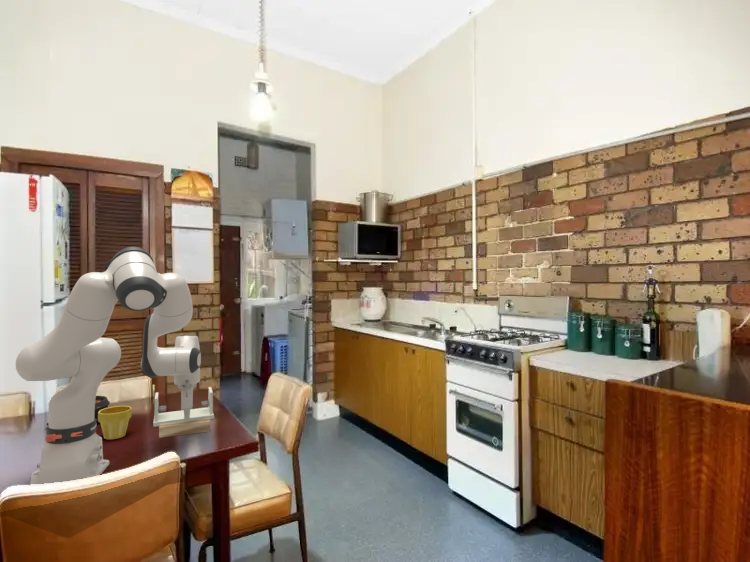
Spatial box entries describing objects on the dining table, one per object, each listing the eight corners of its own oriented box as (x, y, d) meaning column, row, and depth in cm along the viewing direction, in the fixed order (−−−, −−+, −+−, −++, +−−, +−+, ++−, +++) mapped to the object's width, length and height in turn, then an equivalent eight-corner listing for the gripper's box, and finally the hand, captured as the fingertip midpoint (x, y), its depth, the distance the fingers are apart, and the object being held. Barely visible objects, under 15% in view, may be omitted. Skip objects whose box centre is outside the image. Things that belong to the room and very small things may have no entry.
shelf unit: (213, 418, 168) (214, 393, 168) (153, 426, 158) (153, 399, 158) (211, 410, 178) (211, 386, 178) (154, 417, 169) (154, 392, 169)
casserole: (66, 435, 149) (66, 412, 149) (34, 428, 156) (35, 406, 156) (130, 414, 172) (130, 395, 172) (100, 409, 179) (100, 390, 179)
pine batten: (209, 432, 153) (209, 421, 153) (159, 438, 147) (159, 427, 147) (209, 428, 157) (209, 418, 157) (159, 434, 150) (160, 424, 150)
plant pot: (121, 429, 155) (122, 403, 155) (137, 434, 150) (137, 407, 150) (91, 438, 146) (92, 410, 146) (107, 444, 141) (107, 415, 141)
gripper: (196, 383, 143) (196, 422, 143) (196, 371, 162) (195, 406, 162) (176, 385, 141) (176, 425, 141) (178, 373, 159) (178, 408, 159)
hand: (187, 415), depth 152 cm, fingers open, 8 cm apart
